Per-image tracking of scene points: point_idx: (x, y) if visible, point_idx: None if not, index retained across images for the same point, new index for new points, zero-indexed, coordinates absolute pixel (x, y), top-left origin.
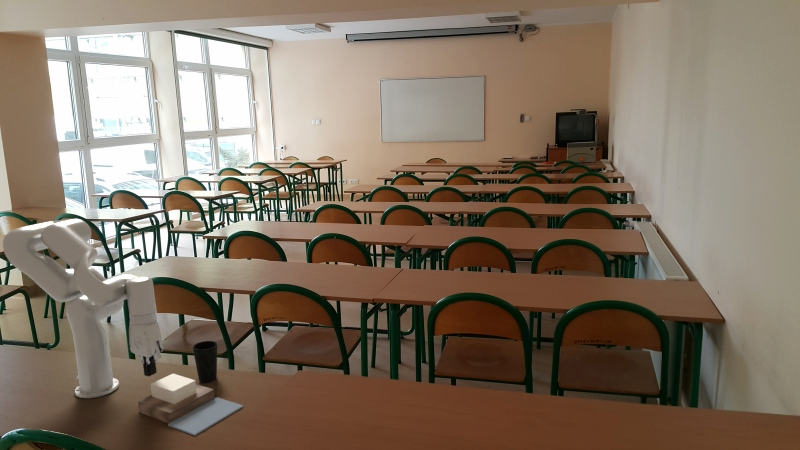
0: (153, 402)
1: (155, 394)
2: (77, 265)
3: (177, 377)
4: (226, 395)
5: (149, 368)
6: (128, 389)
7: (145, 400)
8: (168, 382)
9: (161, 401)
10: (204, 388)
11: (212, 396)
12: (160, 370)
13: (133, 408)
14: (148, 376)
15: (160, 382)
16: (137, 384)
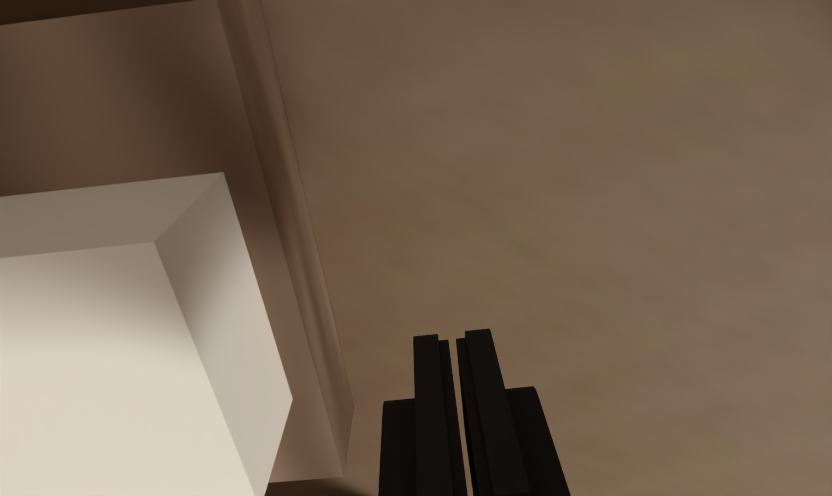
0: (53, 101)
1: (138, 193)
2: None
3: (112, 488)
4: None
5: (408, 453)
6: (782, 189)
7: (169, 70)
8: (35, 385)
9: (20, 167)
10: None
11: None
12: (780, 467)
13: (389, 5)
14: (414, 340)
15: (107, 335)
16: (776, 279)
